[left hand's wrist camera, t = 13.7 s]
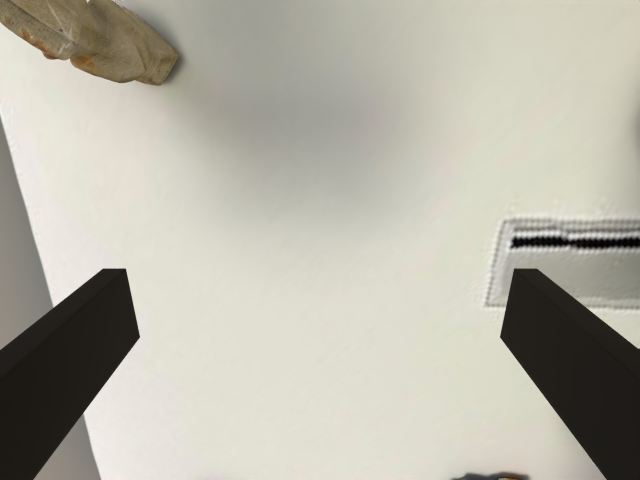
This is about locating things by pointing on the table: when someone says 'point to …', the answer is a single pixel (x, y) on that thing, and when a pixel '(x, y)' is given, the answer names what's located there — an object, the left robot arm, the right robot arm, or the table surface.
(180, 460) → the table surface
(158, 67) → the sculpture
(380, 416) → the table surface
